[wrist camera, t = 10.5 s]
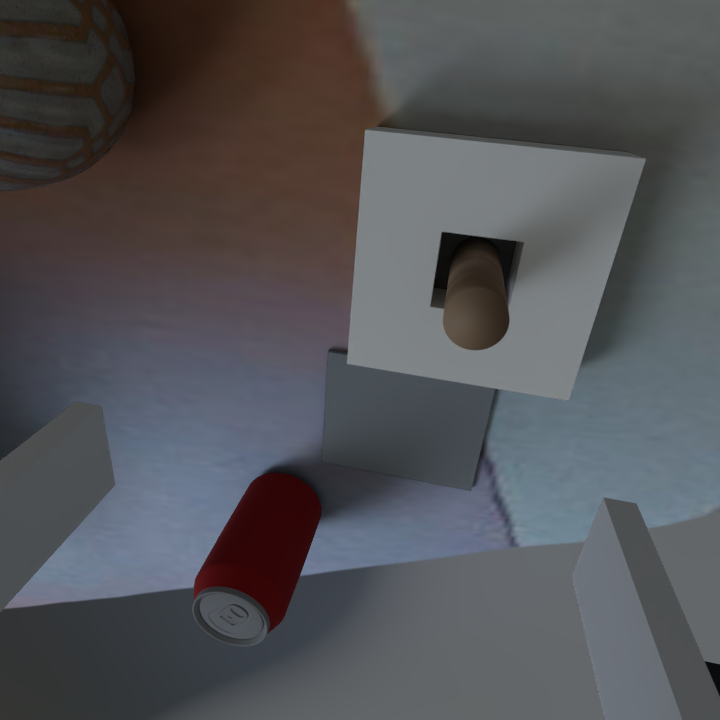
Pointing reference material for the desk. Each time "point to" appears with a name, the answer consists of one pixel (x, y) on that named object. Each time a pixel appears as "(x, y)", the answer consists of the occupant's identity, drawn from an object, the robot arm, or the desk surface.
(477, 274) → the peg
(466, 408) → the mat
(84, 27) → the vase
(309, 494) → the beverage can
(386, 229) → the hole block
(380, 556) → the desk surface
